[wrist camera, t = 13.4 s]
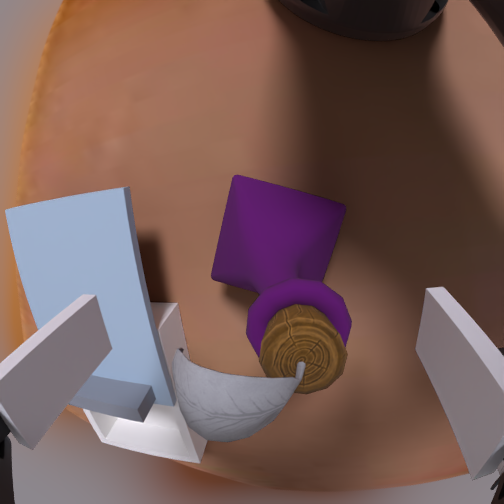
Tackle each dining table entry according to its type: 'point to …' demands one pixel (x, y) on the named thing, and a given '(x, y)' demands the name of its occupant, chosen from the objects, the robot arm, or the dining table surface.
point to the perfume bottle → (271, 309)
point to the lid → (95, 292)
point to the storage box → (156, 406)
